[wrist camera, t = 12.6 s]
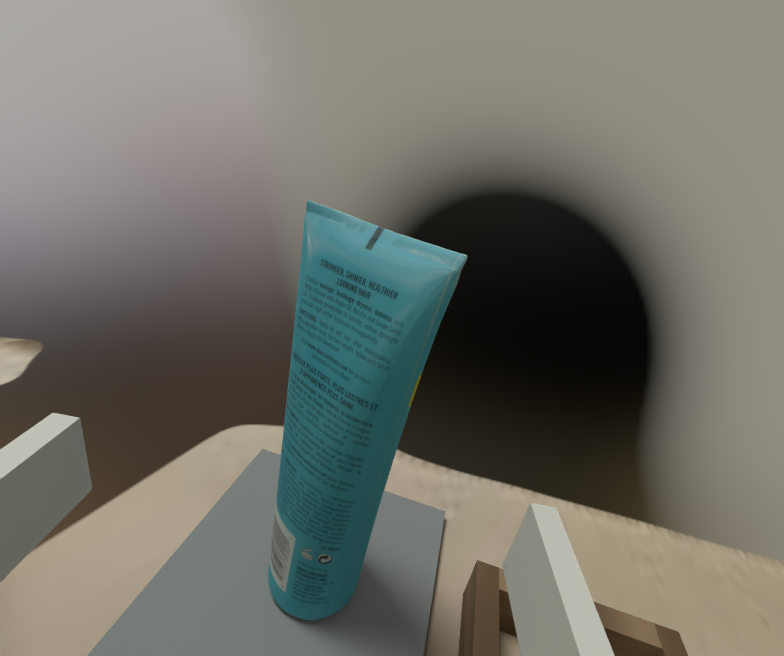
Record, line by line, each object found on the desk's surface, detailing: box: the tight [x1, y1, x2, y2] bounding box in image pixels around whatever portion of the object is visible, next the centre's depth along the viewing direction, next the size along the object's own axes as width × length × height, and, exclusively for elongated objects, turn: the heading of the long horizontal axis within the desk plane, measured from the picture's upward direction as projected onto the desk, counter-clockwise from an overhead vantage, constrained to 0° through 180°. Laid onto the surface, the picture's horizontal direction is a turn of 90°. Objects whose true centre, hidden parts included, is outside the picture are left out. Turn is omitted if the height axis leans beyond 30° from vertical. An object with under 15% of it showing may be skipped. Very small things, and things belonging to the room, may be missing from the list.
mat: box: [88, 449, 445, 656], centre depth 22 cm, size 14×14×1 cm
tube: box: [268, 200, 467, 620], centre depth 18 cm, size 7×5×19 cm, turn 58°
